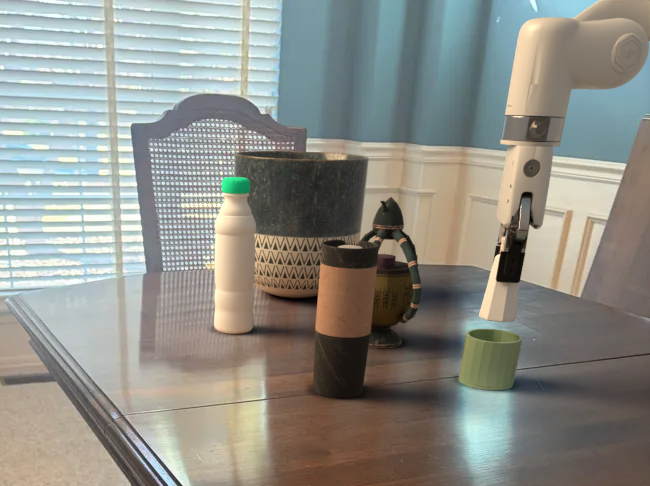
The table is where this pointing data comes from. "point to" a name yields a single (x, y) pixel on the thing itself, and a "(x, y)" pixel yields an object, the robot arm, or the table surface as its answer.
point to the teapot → (392, 278)
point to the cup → (490, 359)
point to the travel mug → (344, 317)
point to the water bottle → (234, 259)
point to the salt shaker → (499, 297)
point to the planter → (300, 213)
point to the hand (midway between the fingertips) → (505, 277)
